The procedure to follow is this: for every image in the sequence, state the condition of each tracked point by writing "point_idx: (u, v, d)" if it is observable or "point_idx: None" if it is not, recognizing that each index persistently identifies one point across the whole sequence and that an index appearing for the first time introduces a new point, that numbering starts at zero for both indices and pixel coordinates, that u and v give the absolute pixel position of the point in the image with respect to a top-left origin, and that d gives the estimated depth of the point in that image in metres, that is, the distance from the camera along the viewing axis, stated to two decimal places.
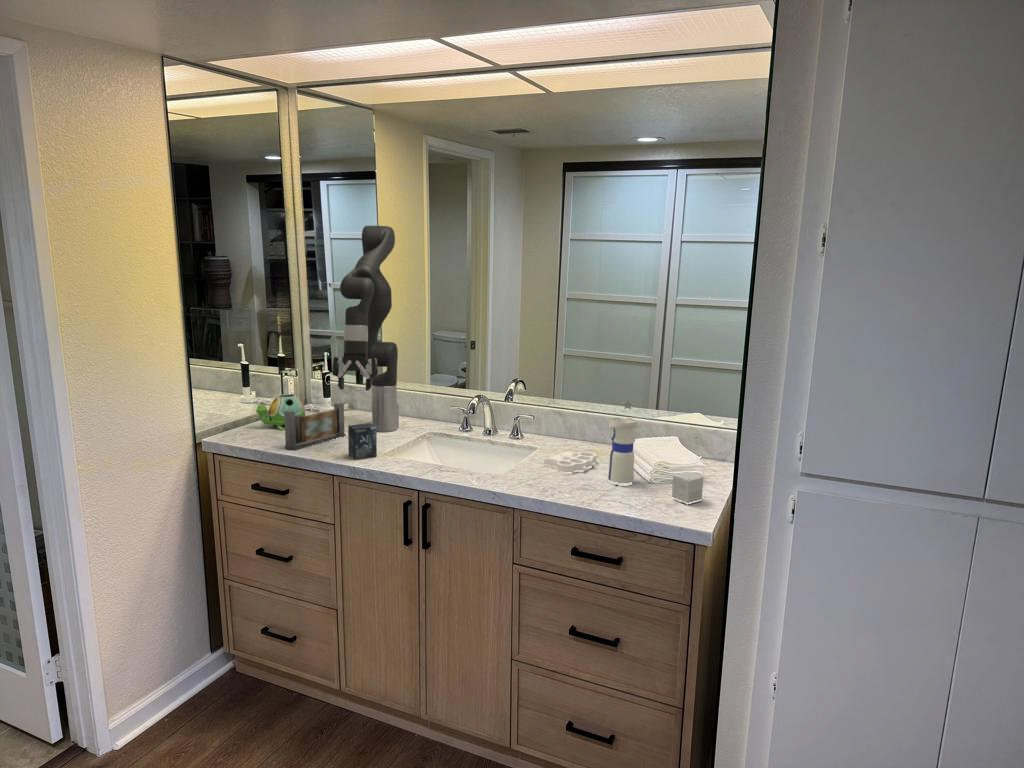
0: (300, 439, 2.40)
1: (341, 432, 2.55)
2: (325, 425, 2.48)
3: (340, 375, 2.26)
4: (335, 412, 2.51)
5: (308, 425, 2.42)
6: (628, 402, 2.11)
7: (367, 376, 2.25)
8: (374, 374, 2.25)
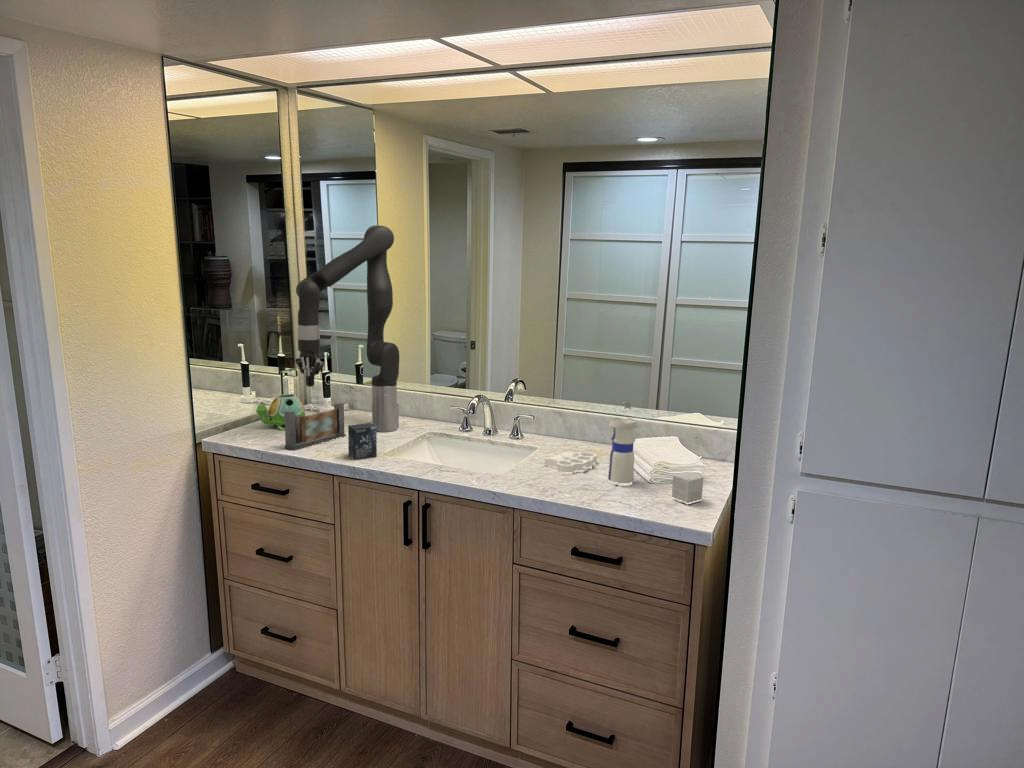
0: (300, 439, 2.40)
1: (341, 432, 2.55)
2: (325, 425, 2.48)
3: (306, 373, 2.49)
4: (335, 412, 2.51)
5: (308, 425, 2.42)
6: (628, 402, 2.11)
7: (308, 374, 2.48)
8: (312, 372, 2.47)
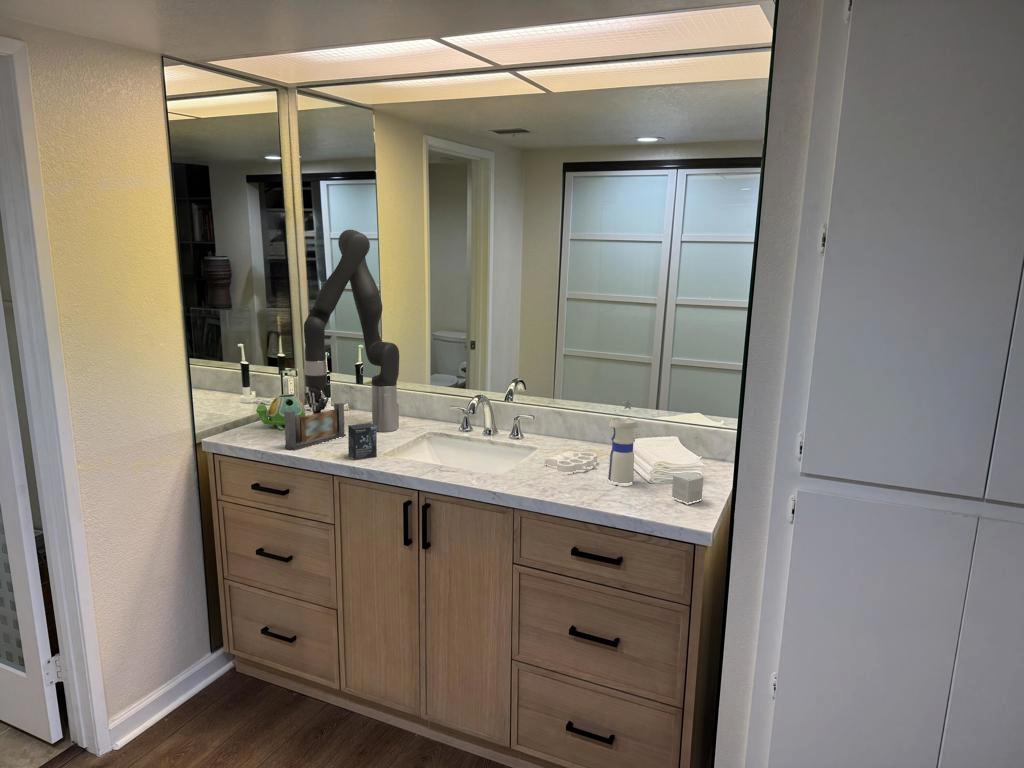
0: (300, 439, 2.40)
1: (341, 432, 2.55)
2: (325, 425, 2.48)
3: (313, 408, 2.49)
4: (335, 412, 2.51)
5: (308, 425, 2.42)
6: (628, 402, 2.11)
7: (314, 409, 2.49)
8: (317, 408, 2.47)
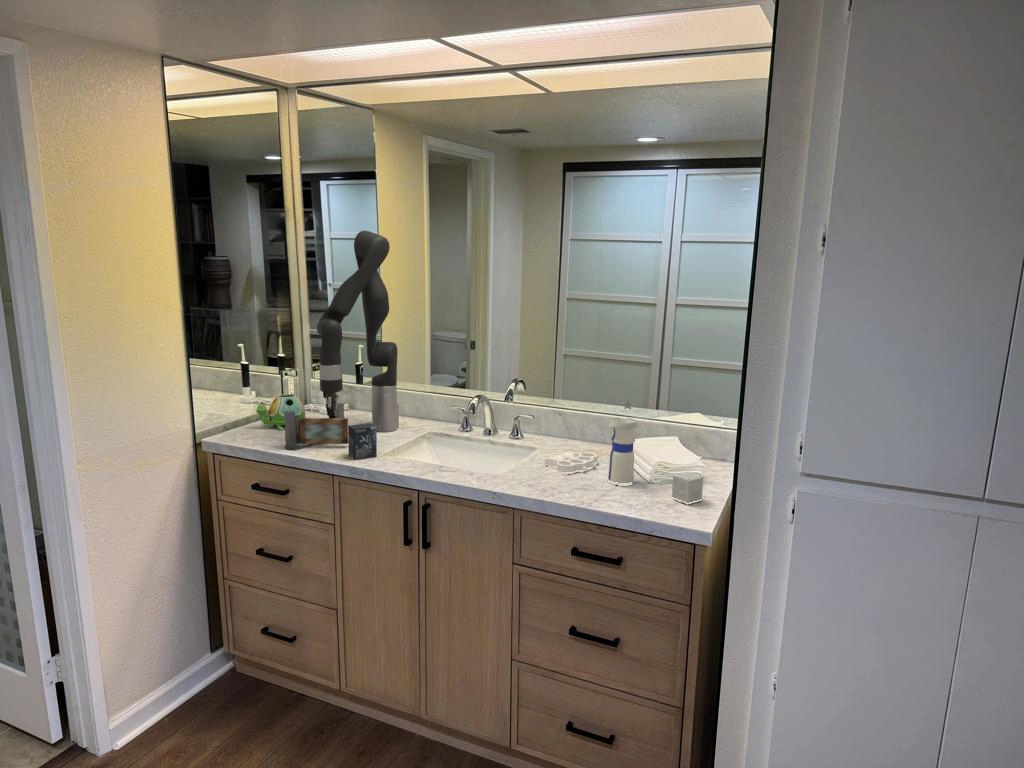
0: (298, 440, 2.39)
1: None
2: (331, 432, 2.39)
3: None
4: (345, 421, 2.39)
5: (309, 427, 2.38)
6: (628, 402, 2.11)
7: None
8: (327, 413, 2.39)
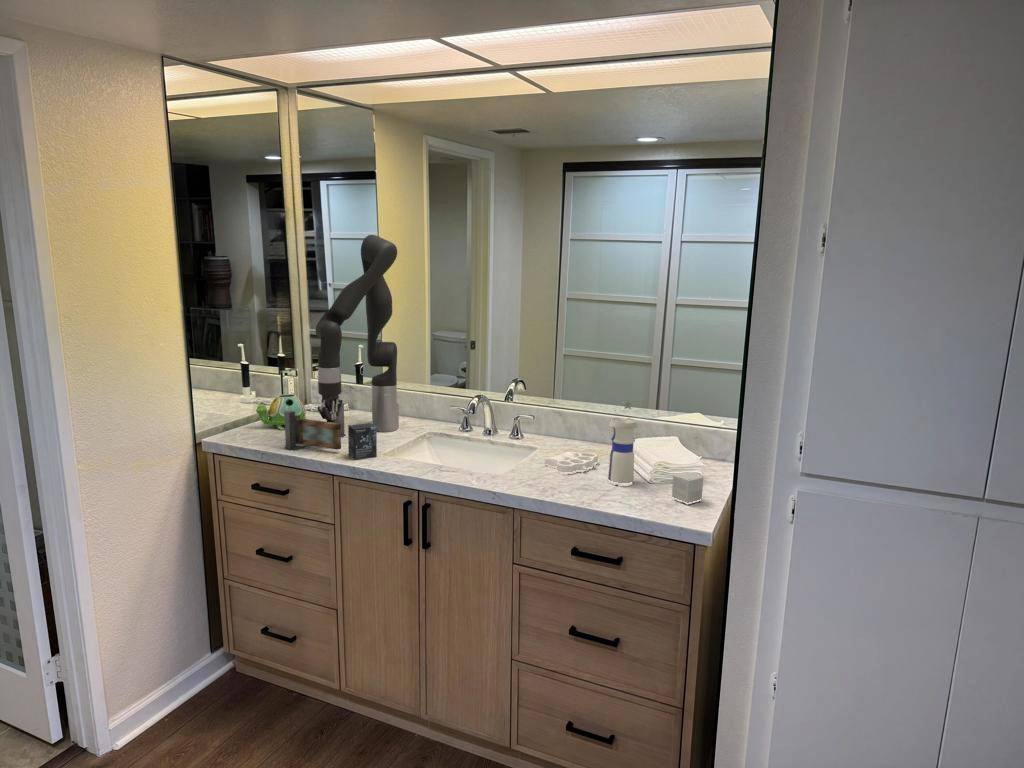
0: (297, 440, 2.39)
1: (341, 432, 2.55)
2: (324, 436, 2.34)
3: None
4: (335, 426, 2.32)
5: (306, 429, 2.37)
6: (628, 402, 2.11)
7: None
8: None
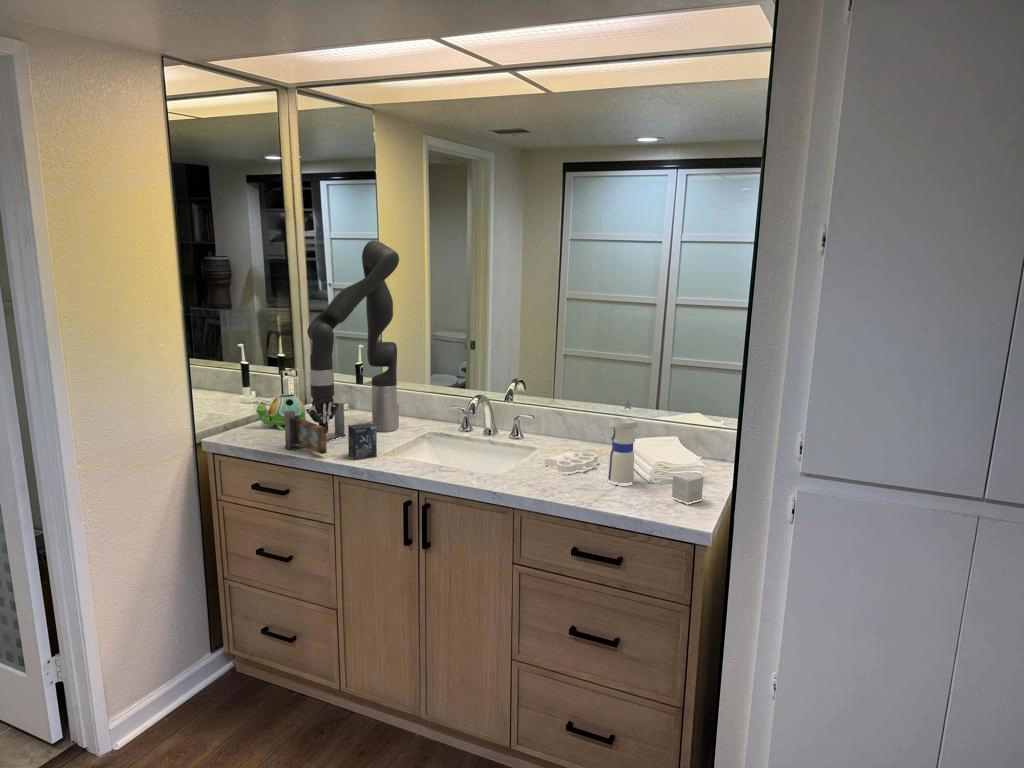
0: None
1: (341, 432, 2.55)
2: (313, 439, 2.31)
3: None
4: (320, 430, 2.27)
5: (301, 430, 2.35)
6: (628, 402, 2.11)
7: None
8: None
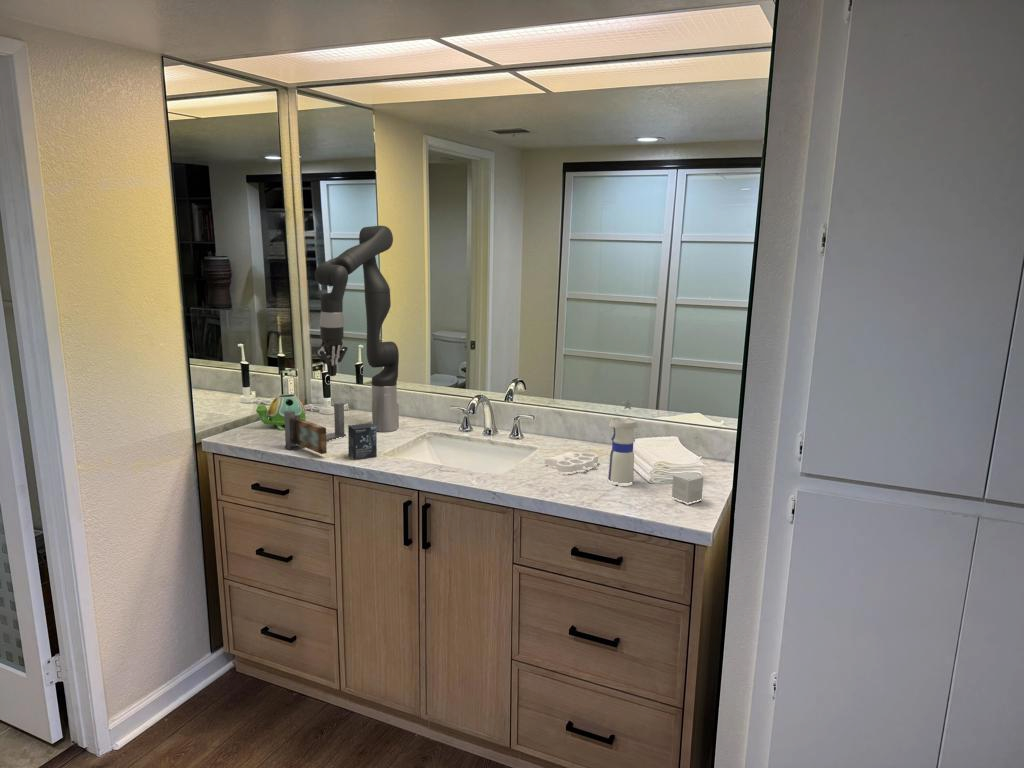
0: None
1: (341, 432, 2.55)
2: (313, 439, 2.31)
3: None
4: (320, 430, 2.27)
5: (301, 430, 2.35)
6: (628, 402, 2.11)
7: None
8: None
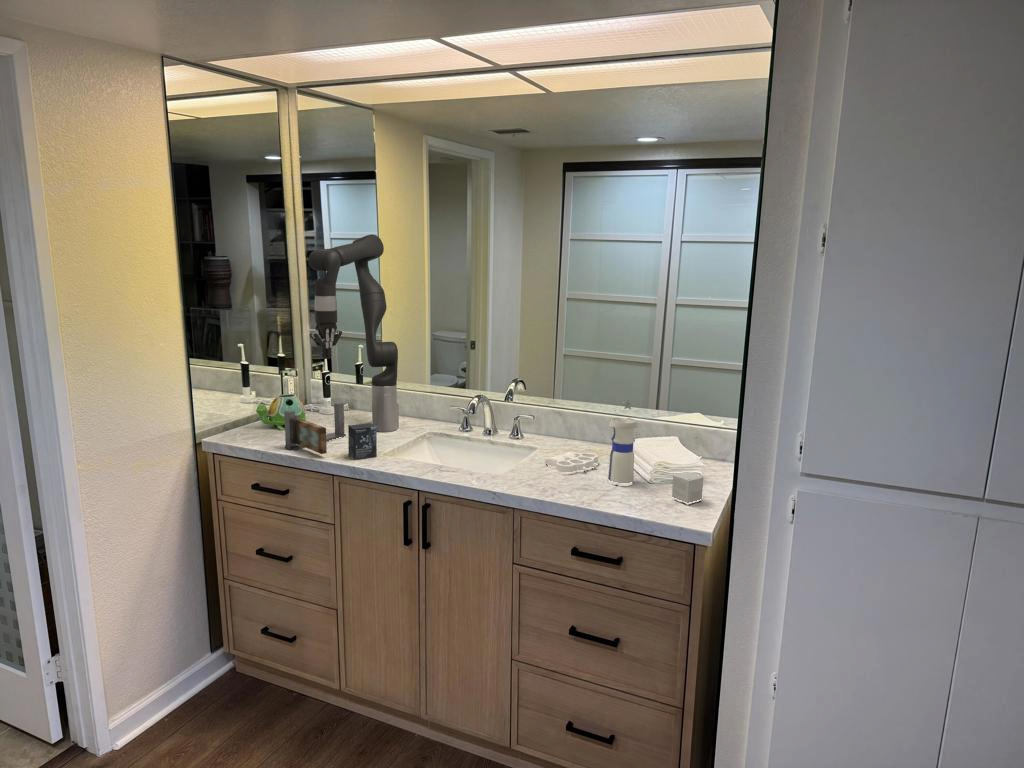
0: None
1: (341, 432, 2.55)
2: (313, 439, 2.31)
3: None
4: (320, 430, 2.27)
5: (301, 430, 2.35)
6: (628, 402, 2.11)
7: None
8: None
